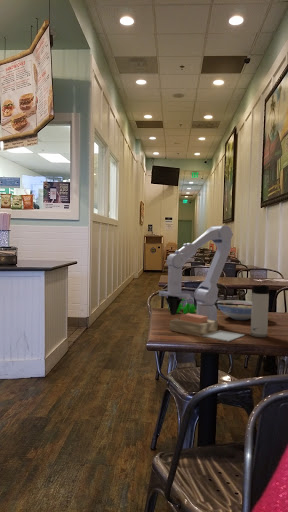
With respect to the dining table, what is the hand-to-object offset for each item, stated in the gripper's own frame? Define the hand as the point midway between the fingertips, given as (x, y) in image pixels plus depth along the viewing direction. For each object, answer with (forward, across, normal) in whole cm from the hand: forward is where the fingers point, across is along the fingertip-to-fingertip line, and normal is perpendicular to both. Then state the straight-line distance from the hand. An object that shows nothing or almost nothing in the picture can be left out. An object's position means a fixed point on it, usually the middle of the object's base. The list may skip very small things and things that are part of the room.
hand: (173, 314), depth 169 cm
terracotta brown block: (+1, +10, 0) cm, 10 cm away
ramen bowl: (+5, +12, +39) cm, 41 cm away
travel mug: (+5, +33, +11) cm, 35 cm away
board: (+5, +10, 0) cm, 11 cm away
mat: (+5, +24, 0) cm, 24 cm away
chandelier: (+6, -18, +34) cm, 39 cm away
